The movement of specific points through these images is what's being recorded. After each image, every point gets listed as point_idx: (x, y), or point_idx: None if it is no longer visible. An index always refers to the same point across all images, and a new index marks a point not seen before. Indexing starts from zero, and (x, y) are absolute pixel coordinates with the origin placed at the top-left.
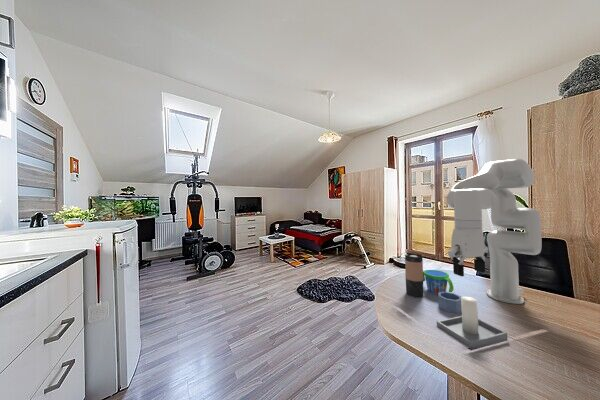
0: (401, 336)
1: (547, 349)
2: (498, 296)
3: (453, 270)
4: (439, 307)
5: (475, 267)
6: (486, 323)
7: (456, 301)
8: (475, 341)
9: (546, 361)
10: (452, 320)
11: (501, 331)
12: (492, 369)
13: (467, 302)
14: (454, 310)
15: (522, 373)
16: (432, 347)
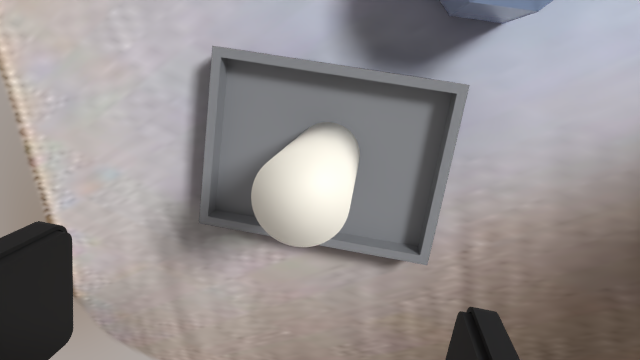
0: (12, 18)
1: None
2: None
3: (7, 235)
4: None
5: (466, 352)
6: (437, 181)
7: (472, 3)
8: (225, 227)
9: (397, 357)
10: (317, 71)
11: (421, 245)
12: (182, 288)
13: (254, 210)
14: (450, 3)
15: (251, 337)
16: (85, 131)
